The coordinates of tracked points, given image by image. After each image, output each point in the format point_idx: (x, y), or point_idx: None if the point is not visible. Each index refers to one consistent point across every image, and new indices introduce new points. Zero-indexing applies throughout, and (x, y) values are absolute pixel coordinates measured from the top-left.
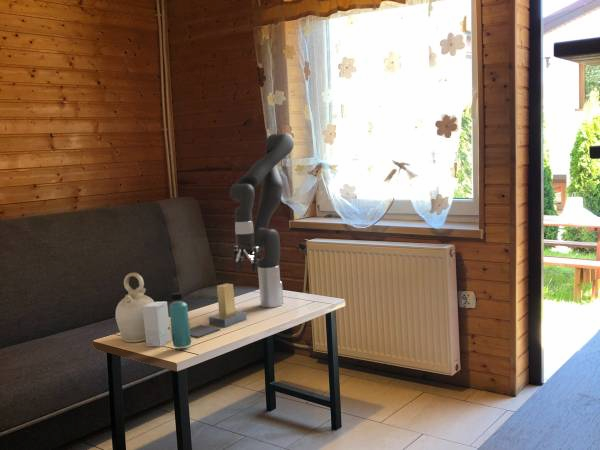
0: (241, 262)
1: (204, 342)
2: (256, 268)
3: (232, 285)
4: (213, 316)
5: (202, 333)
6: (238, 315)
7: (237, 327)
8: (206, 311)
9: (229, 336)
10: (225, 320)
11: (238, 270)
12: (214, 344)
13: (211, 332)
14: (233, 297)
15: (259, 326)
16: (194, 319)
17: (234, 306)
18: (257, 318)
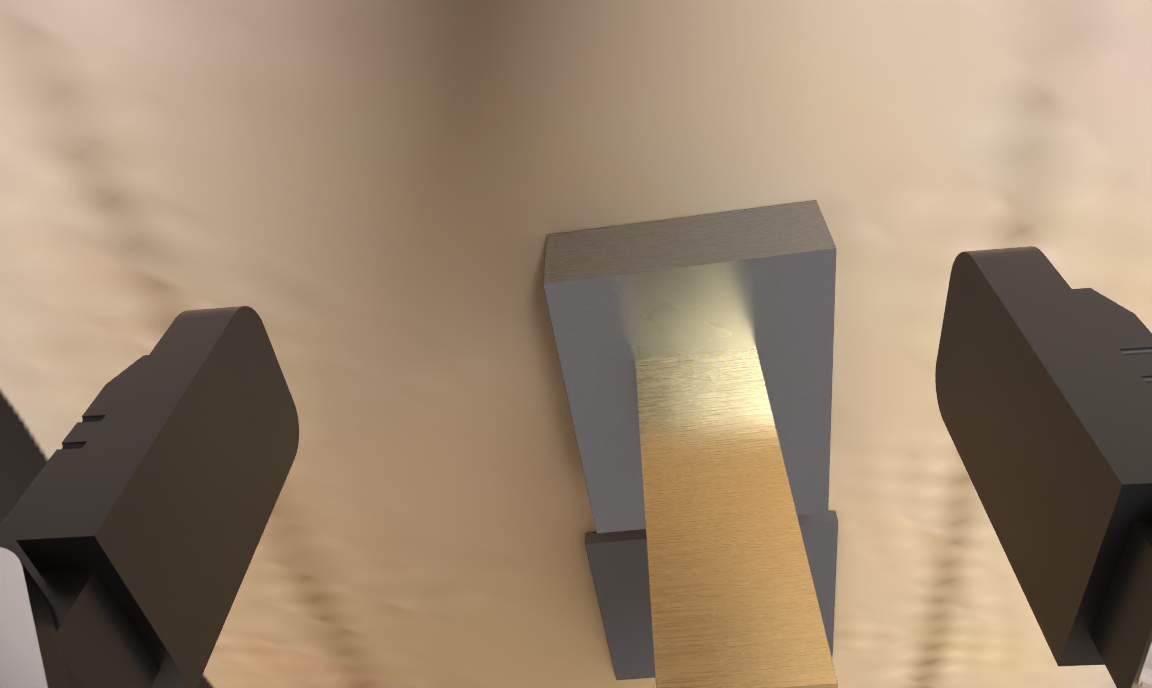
0: (135, 544)
1: (948, 672)
2: (1135, 365)
3: (834, 675)
4: (620, 503)
5: None
6: (831, 356)
7: (929, 403)
8: (61, 249)
9: None
10: (826, 496)
11: (278, 445)
12: (1051, 664)
13: (833, 580)
14: (794, 511)
15: (1148, 278)
16: (311, 461)
17: (770, 415)
18: (908, 90)
